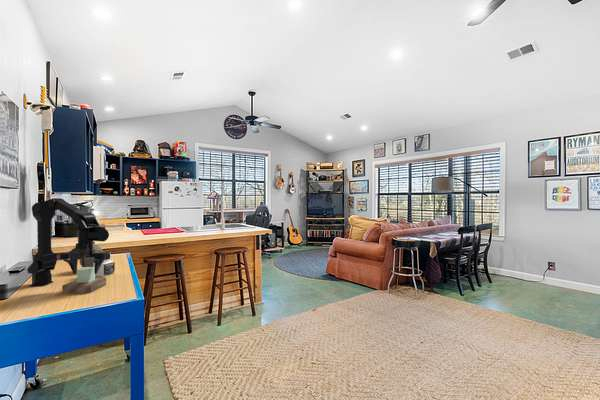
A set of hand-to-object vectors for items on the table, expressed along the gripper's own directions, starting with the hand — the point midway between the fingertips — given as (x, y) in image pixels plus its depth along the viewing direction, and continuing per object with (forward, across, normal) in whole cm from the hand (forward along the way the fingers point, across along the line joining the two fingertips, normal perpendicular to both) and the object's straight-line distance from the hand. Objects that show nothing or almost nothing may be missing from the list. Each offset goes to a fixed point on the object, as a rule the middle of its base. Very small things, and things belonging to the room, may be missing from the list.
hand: (85, 273), depth 136 cm
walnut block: (+8, 0, 0) cm, 8 cm away
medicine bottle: (+7, -5, +24) cm, 26 cm away
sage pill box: (+4, 0, 0) cm, 4 cm away
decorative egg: (+7, -17, +34) cm, 39 cm away
